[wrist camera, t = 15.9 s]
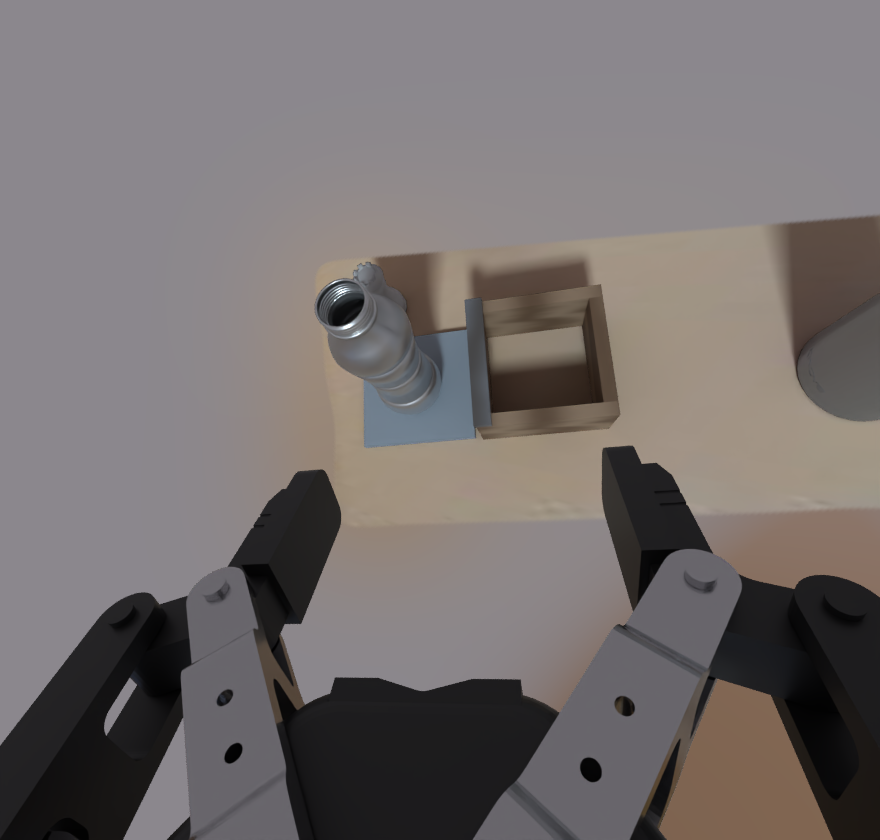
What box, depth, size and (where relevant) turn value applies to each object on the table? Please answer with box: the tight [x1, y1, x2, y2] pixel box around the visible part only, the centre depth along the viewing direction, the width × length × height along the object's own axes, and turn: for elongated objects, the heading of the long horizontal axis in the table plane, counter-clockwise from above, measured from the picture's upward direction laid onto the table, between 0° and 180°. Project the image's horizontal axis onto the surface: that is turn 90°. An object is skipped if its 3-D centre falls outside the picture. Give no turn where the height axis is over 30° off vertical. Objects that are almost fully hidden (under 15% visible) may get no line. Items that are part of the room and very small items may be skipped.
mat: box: [364, 330, 476, 448], centre depth 49 cm, size 12×12×1 cm
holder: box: [465, 284, 620, 439], centre depth 43 cm, size 13×12×7 cm
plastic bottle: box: [315, 278, 441, 415], centre depth 39 cm, size 6×7×20 cm
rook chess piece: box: [353, 262, 407, 312], centre depth 48 cm, size 4×4×8 cm
